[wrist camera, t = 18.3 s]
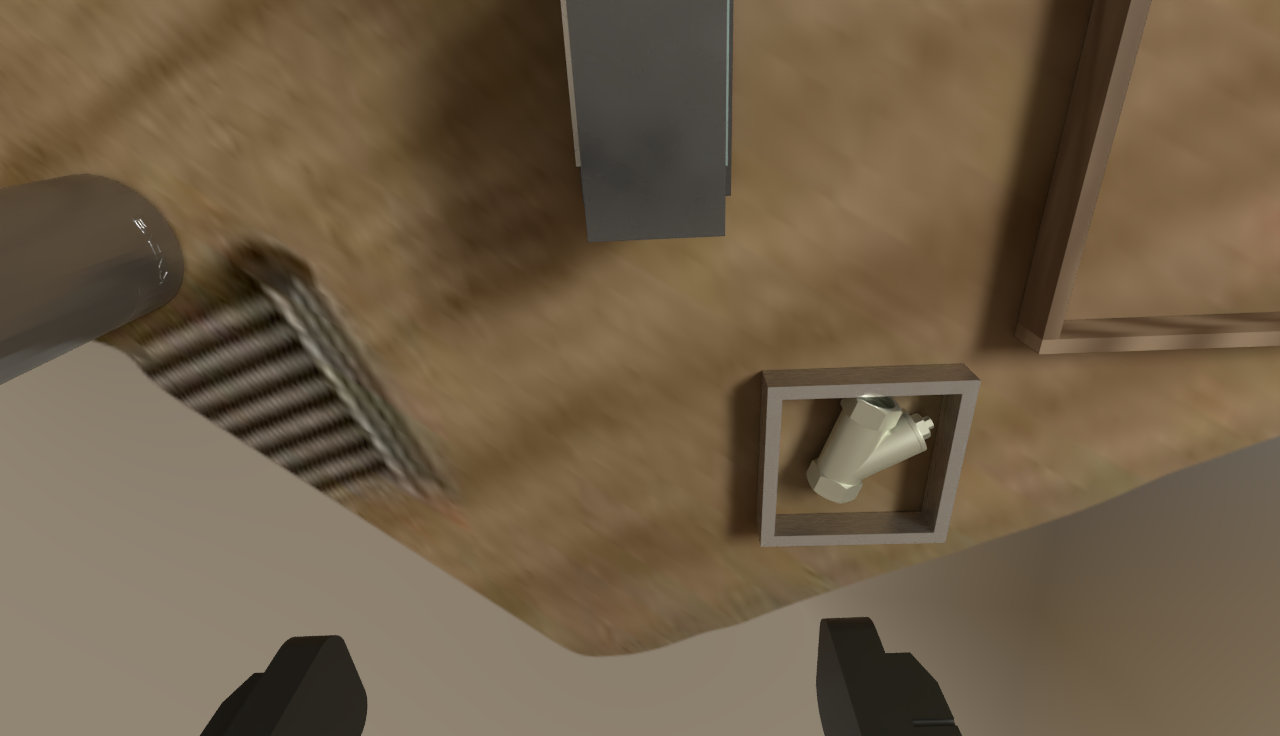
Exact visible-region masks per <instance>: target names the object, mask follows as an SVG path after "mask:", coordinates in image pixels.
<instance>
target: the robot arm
mask: <svg viewBox="0 0 1280 736" xmlns="http://www.w3.org/2000/svg"><path fill="white" fill-rule="evenodd" d="M183 273H184V267H183V256H182V253H181V249H180V246H179V243H178V241H177V239H176V237H175V235H174V233H173V231H172V229H171V227H170V226H169V225H168V223H167V222H166V220H165V219H164V218H163V216H162V215H161V214H160V213H159V212H158V211H157V210H156V209H155V208H154V207H153V206H152V205H151V204H150V203H149V202H148V201H147V200H146V199H144V198H143V197H142V196H140V195H139V194H138V193H137V192H135V191H134V190H132V189H130V188H128V187H126V186H125V185H123V184H121V183H119V182H116V181H114V180H111V179H108V178H105V177H102V176H95V175H89V174H80V175H69V176H64V177H58V178H53V179H48V180H42V181H37V182H32V183H26V184H21V185H14V186H9V187H4V188H0V385H1V384H3V383H5V382H7V381H9V380H11V379H13V378H15V377H17V376H19V375H21V374H23V373H25V372H28V371H30V370H32V369H34V368H36V367H38V366H40V365H42V364H44V363H46V362H48V361H50V360H52V359H54V358H56V357H58V356H60V355H62V354H64V353H66V352H68V351H71V350H73V349H75V348H77V347H79V346H81V345H83V344H85V343H87V342H89V341H91V340H93V339H95V338H97V337H99V336H102V335H104V334H106V333H108V332H110V331H112V330H114V329H116V328H118V327H121V326H123V325H125V324H127V323H129V322H131V321H133V320H135V319H137V318H139V317H141V316H143V315H145V314H147V313H149V312H151V311H153V310H155V309H157V308H159V307H161V306H163V305H165V304H166V303H168V302H169V301H170V300H171V299H172V298H173V297H174V296H175V295H176V294H177V292H178V290H179V288H180V286H181V284H182V278H183ZM816 689H817V700H818V707H819V713H820V718H821V723H822V726H823V731H824V735H825V736H962V735H961V733H960V731H959V728H958V726H956V725H955V723H954V717H953V715H952V713H951V711H950V709H949V706H948V704H947V702H946V700H945V698H944V695H943V693H942V692H941V689H940V687H939V685H938V682H937V681H936V680H935V679H934V678H933V677H932V676H931V675H930V674H929V673H928V672H927V670H926V669H925V668H924V667H923V666H922V665H921V664H920V663H919V662H918V661H917V660H916V659H915V657H914V656H913V655H912V654H911V653H885V651H884V648H883V646H882V643H881V641H880V638H879V636H878V633H877V630H876V628H875V626H874V624H873V622H872V620H871V619H870V618H869V617H854V618H827V619H822V620H821V622H820V633H819V647H818V661H817V676H816ZM366 715H367V696H366V692H365V689H364V687H363V684H362V682H361V680H360V677H359V675H358V672H357V670H356V668H355V665H354V663H353V661H352V658H351V656H350V654H349V651H348V649H347V646H346V644H345V642H344V640H343V639H342V638H341V637H340V636H337V635H330V636H304V637H292V638H290V639H289V640H287V641H286V642H285V643H284V644H283V645H282V646H281V648H280V649H279V651H278V652H277V654H276V655H275V657H274V658H273V660H272V661H271V663H270V665H269V666H268V668H267V669H266V671H265V672H264V673H254V674H253V675H252V676H250V677H249V678H248V679H247V680H246V681H245V682H244V683H243V684H242V685H241V686H240V687H239V688H238V689H236V690H235V691H234V692H233V693H232V694H231V695H230V696H229V697H228V698H227V699H226V700H225V701H224V702H222V704H221V705H220V707H219V708H218V710H217V711H216V713H215V714H214V716H213V717H212V718H211V720H210V721H209V723H208V724H207V726H206V727H205V729H204V730H203V732H202V733H201V735H200V736H361V734H362V731H363V728H364V725H365V721H366Z"/></svg>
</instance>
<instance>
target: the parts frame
mask: <svg viewBox="0 0 1280 736" xmlns="http://www.w3.org/2000/svg"><path fill="white" fill-rule="evenodd" d="M980 382H981V380H980V379H979V378H978V377H977V376H976V375H975V374H974V373H973V372H972V371H971V370H970V369H969V368H968V367H967V366H966V365H965V364H940V365H911V366H883V367H855V368H827V369H799V370H771V371H762V389H761V414H760V438H759V463H758V488H757V512H756V527H757V532H758V537H759V541H760V546H761V547H771V546H815V545H859V544H903V543H945V541H946V537H947V532H948V528H949V523H950V518H951V514H952V509H953V505H954V500H955V496H956V491H957V487H958V482H959V477H960V473H961V468H962V464H963V459H964V455H965V450H966V446H967V441H968V436H969V432H970V427H971V423H972V418H973V414H974V409H975V405H976V400H977V395H978V391H979V386H980ZM914 395H943V400H942V405H941V410H940V415H939V420H938V426H937V431H936V436H935V441H934V447H933V452H932V457H931V462H930V468H929V473H928V478H927V483H926V488H925V494H924V499H923V504H922V509H921V511H907V512H867V513H826V514H786V515H776V498H777V481H778V464H779V447H780V430H781V412H782V400H794V399H824V398H854V397H884V396H914Z"/></svg>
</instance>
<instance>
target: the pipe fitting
mask: <svg viewBox="0 0 1280 736" xmlns="http://www.w3.org/2000/svg"><path fill="white" fill-rule="evenodd" d="M840 404H841V407H842V411H841V413H840V415H839V417H838V419H837V421H836V423H835V425H834V427H833V429H832V431H831V433H830V435H829V437H828V439H827V441H826V443H825V445H824V447H823V449H822V451H821V453H820V455H819V458H816V459H814V460H812V462H811V464H810V466H809V468H808V470H807V472H806V477H807V480H808V483H809V485H810V486H811V488H812V489H813V490H814V491H815V492H816V493H818V494H819V495H821V496H822V497H824V498H826V499H828V500H831V501H833V502H837V503H846V502H849V501H851V500H853V499H855V498H856V497H857V495H858V493H859V491H860V489H861V487H862V486H863V483H862V480H861V479H864V478H866V477H868V476H870V475H872V474H875V473H877V472H879V471H881V470H883V469H886V468H888V467H890V466H892V465H895V464H897V463H899V462H901V461H903V460H906V459H908V458H910V457H912V456H914V455H917V454H919V453H921V452H923V451H925V450H927V446H926V443H925V439H927V438H929V437H930V436H931V433H930V429H932V428H934V424H933V422H932V420H931V419H930V417H929V416H925V417H923V418H922V417H921V416H920V415H919V414H918V413H915V414H913V415H909V414H908V412H907V411H906V410H905V409H901V407H900V405H899V404H898V403H897V401H896V400H894V399H893V398H892V397H891V396H884V397H854V398H843V399H842V401H841V403H840Z"/></svg>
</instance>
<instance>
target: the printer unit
mask: <svg viewBox="0 0 1280 736" xmlns="http://www.w3.org/2000/svg"><path fill="white" fill-rule="evenodd" d="M560 1H561V12H562V22H563V33H564V43H565V54H566V65H567V75H568V86H569V96H570V107H571V117H572V128H573V139H574V149H575V160H576V167H578V166H580V173H581V184H582V195H583V203H584V205H585V216H586V227H587V238H588V242H604V241H625V240H647V239H669V238H691V237H713V236H725V196H731V138H732V62H733V0H560Z"/></svg>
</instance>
